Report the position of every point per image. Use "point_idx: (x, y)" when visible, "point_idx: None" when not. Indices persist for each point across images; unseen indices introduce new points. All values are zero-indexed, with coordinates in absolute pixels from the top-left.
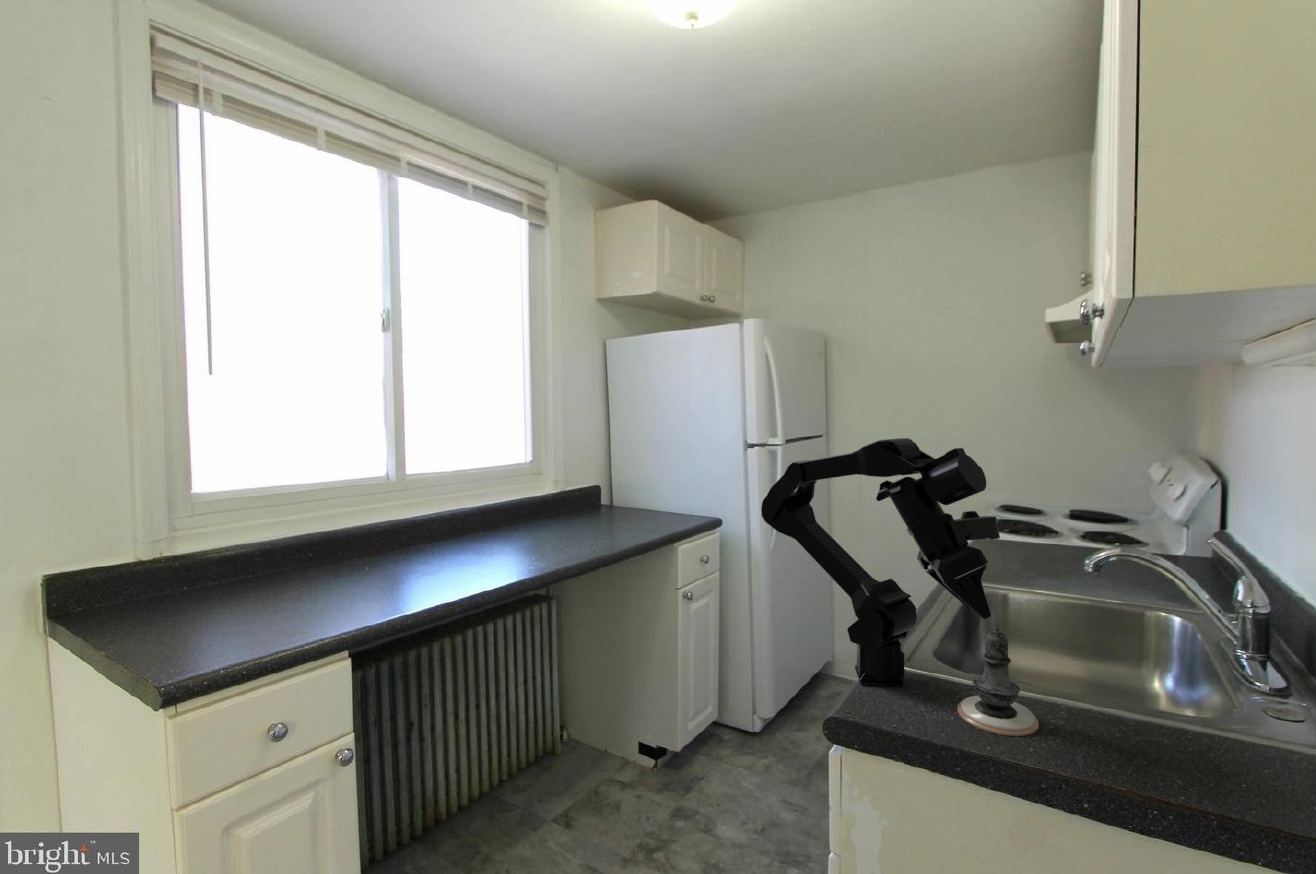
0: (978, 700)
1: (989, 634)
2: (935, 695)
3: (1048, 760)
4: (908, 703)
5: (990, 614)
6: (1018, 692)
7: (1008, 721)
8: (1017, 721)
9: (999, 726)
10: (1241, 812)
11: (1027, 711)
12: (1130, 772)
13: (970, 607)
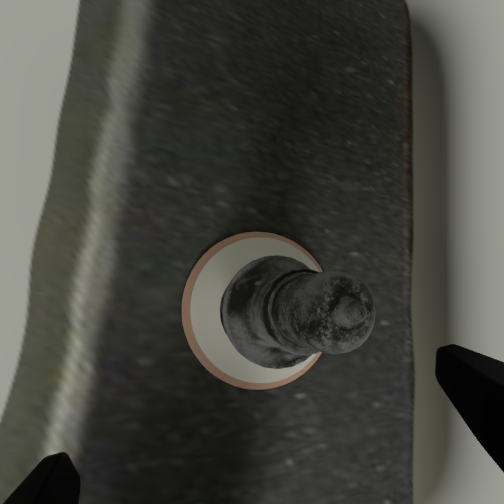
0: (229, 347)
1: (356, 340)
2: (202, 446)
3: (378, 231)
4: (275, 499)
5: (463, 348)
6: (296, 260)
7: None
8: None
9: None
10: (390, 29)
11: (240, 247)
12: (356, 124)
13: (74, 469)
